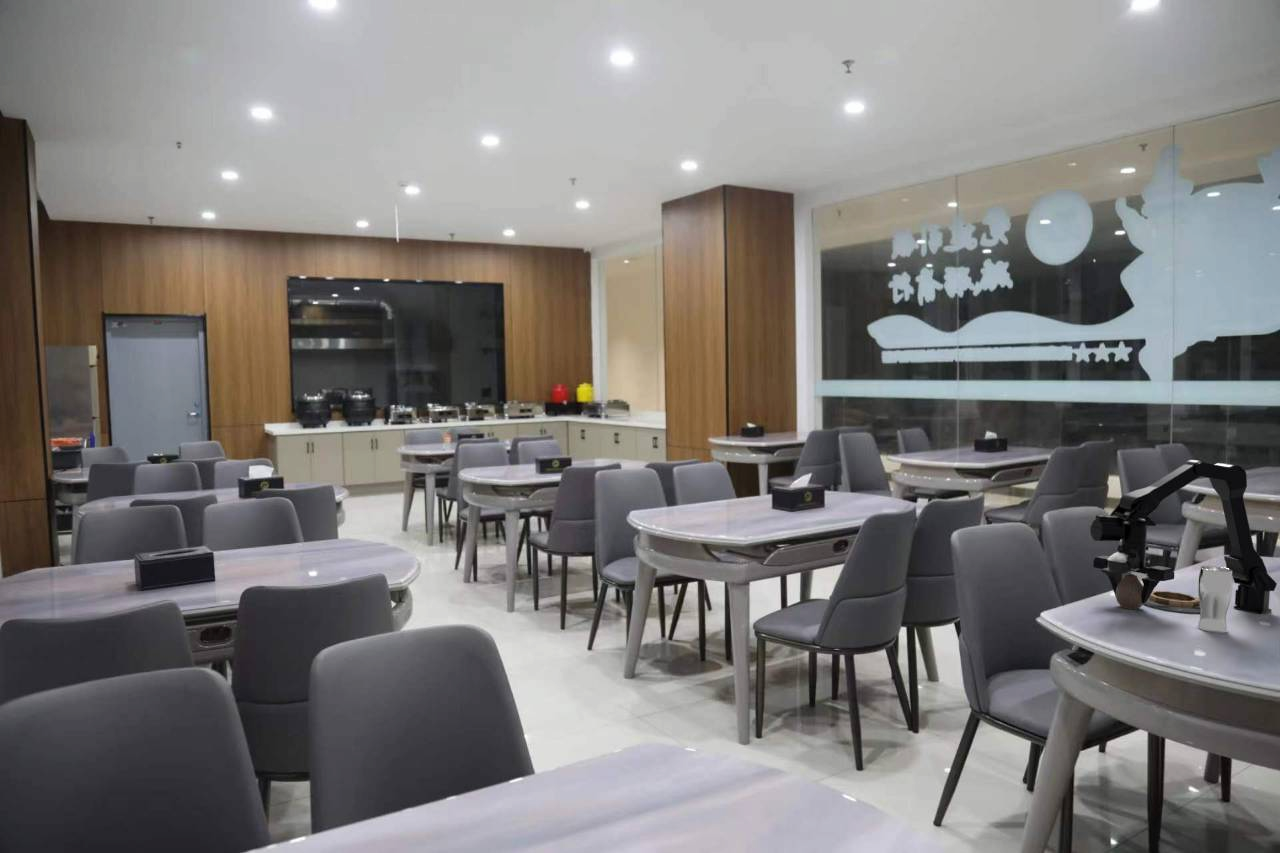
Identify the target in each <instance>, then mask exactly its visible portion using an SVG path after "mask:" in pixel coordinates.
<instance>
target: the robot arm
mask: <svg viewBox="0 0 1280 853" xmlns="http://www.w3.org/2000/svg"><path fill="white" fill-rule="evenodd" d="M1247 476H1248V475H1247V472H1246V469H1245V468H1243V467H1242V466H1241V465H1236V464H1231V463H1225V462H1224V463H1222V462H1217V463H1215V464H1214V463H1213V464H1211V463H1207V462H1205V461H1202V460H1196V459H1189V460H1187V461H1186V462H1184V464H1183V465H1181V466H1179V467H1178V468H1176V469H1175V470H1173V471H1171V472H1169V473H1168V474H1167V475H1165V476H1164V477H1162V478H1160V479H1158V480H1157V481H1155V482H1154V483H1152V484H1150V485H1149V486H1147V487H1142V488H1140V489H1135V490H1133V491H1130V492H1127V493H1126V494H1123V495H1122V496H1121V497H1120V499H1119V503H1118V505H1116V507H1115V508H1114V509H1113V510H1112V512H1111V513H1110V514H1109V515H1100V514H1096V515H1095V519H1094V520H1093V521H1092V523H1091V525H1090V526H1089V527H1090V528H1089V529H1090V535H1091V538H1092V540H1094V541H1095V542H1120V544H1118V545H1117V550H1116V552H1114V553H1112V554H1111V555H1110V556H1108V555H1099V556H1095V557H1093V559H1092V564H1091V565H1092V567H1093V568H1095V569H1100V571H1101V572H1102V573H1103V574H1105V575H1106V576H1107V577H1108V579H1109V582H1110V584H1111V587H1112V590H1113V593H1114V596H1115V597H1116V588H1117V585H1118V584H1119V582H1120V581H1121V580H1122V579H1123V574H1128V573H1129V572H1133V573H1137V574H1138V573H1139V574H1144V575H1145V577H1144V578H1141V581H1142V585H1143V593H1142V603H1146V602H1147V600H1148V598H1149V597H1150V595H1151V593H1152V591H1155V589H1156V587H1157V586H1158V584H1159V583H1160V582H1167V581H1171V580H1175V571H1174V570H1173V568H1171V567H1166V566H1162V565H1161V566H1160V565H1155V566H1149V565H1148V564H1149V562H1148V561H1146V554H1147V553H1146V551H1149V548H1150V547H1149V545H1147V537H1148V535H1147V534H1148V527H1155V526H1157V523H1156V522H1154V520H1152V519H1151V517H1150V515H1151V514H1152V513H1154V512H1155V511H1156V510H1157V509H1158V508H1159V506H1160V504H1161V503H1162V502H1163V500H1165V499H1166V498H1169V497H1170V496H1172V495H1173V494H1174V493H1176V492H1177V491H1179V490H1181V489H1183V488H1184V487H1186V486H1187V485H1189V484H1190V483H1193V481H1195V480H1197V479H1199V478H1200V477H1202V478H1208V479H1209V481H1210V484H1211V486H1212V488H1213V490H1214V491H1215V492H1216V493H1217V495H1218V496H1219V498H1220V500H1221V504H1222V509H1223V515H1224V518H1225V523H1226V524H1225V525H1226V527H1227V532H1228V537H1229V541H1230V547H1231V551H1230V552H1229V555H1224V556H1223V559H1224V561H1225V566H1226V567H1225V568H1228V569H1231V570H1232V580H1233V583H1234V584H1238V585H1237V589H1236V590H1235V594H1234V595H1235V598H1234V606H1233V609H1236V610H1237V609H1238V610H1242V611H1245V612H1251V613H1255V614H1260V615H1261V614H1266V613H1269V612H1272V611H1273V610H1272V608H1269V607H1270V596H1271V595H1270V594H1271V593H1270V592H1274V591H1275V589H1276V587H1277V585H1278V583H1277V582H1276V581H1275V580H1274V578H1272V576H1270V575H1269V574H1268V570H1267V566H1266V565H1265V562H1264V559H1263V558H1262V557H1261V556H1260V554H1259V553H1258V552H1257V550H1256V549H1255V546H1254V542H1253V538H1252V533H1251V528H1250V523H1249V519H1248V515H1247V514H1248V512H1247V508H1246V505H1245V504H1246V503H1245V499H1244V495H1245V492H1246V489H1247V486H1248V479H1247V478H1248V477H1247ZM1148 566H1149V567H1148Z"/></svg>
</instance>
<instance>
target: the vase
mask: <svg viewBox="0 0 1280 853" xmlns="http://www.w3.org/2000/svg"><path fill="white" fill-rule="evenodd" d="M1142 593H1143V583H1141V581H1140V579H1139V577H1138V576H1137V575H1136V574H1134V573H1125V576H1124V578H1122V580H1121V581H1120V582H1119V584H1118V585H1117V588H1116V596H1115V598H1116V601H1117V603H1118V604H1119V606H1120V607H1121V608H1124V609H1127V610H1128V609H1129V610H1139V609H1140V608H1142V606H1144V605H1143V604H1144V603H1142Z"/></svg>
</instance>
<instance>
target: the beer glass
mask: <svg viewBox="0 0 1280 853" xmlns="http://www.w3.org/2000/svg"><path fill="white" fill-rule="evenodd" d="M1233 583H1234V580H1233V576H1232V570H1231V569H1228V568H1226V567H1222V566H1217V565H1215V566H1214V565H1201V566H1199V572H1198V580H1197V596H1198V598H1199V603H1200V613H1199V619H1198V623H1197V628H1198V629H1199V630H1201V631H1205V632H1208V633H1209V632H1210V633H1217V634H1226V633H1228V627H1227V626H1228V625H1227V615H1228V614H1227V613H1228V610H1229V606H1230V602H1231V600H1232V598H1231V597H1232V595H1233V594H1232V593H1233Z"/></svg>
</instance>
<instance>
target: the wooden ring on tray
mask: <svg viewBox="0 0 1280 853" xmlns="http://www.w3.org/2000/svg"><path fill="white" fill-rule="evenodd" d="M1142 606H1147V607H1149V606H1150V608H1152V607H1153V608H1152V609H1156V608H1158V610H1161V609H1162V610H1161V611H1167V612H1172V611H1173V613H1183V614H1200V603H1199V597H1196V596H1194V595H1192V594H1186V593H1182V592H1178V591H1177V592H1176V591H1170V590H1153V591H1152V593H1151V595H1150V597H1149V598H1148V600H1147V602H1146V603H1144V604H1143V605H1142Z"/></svg>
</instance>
